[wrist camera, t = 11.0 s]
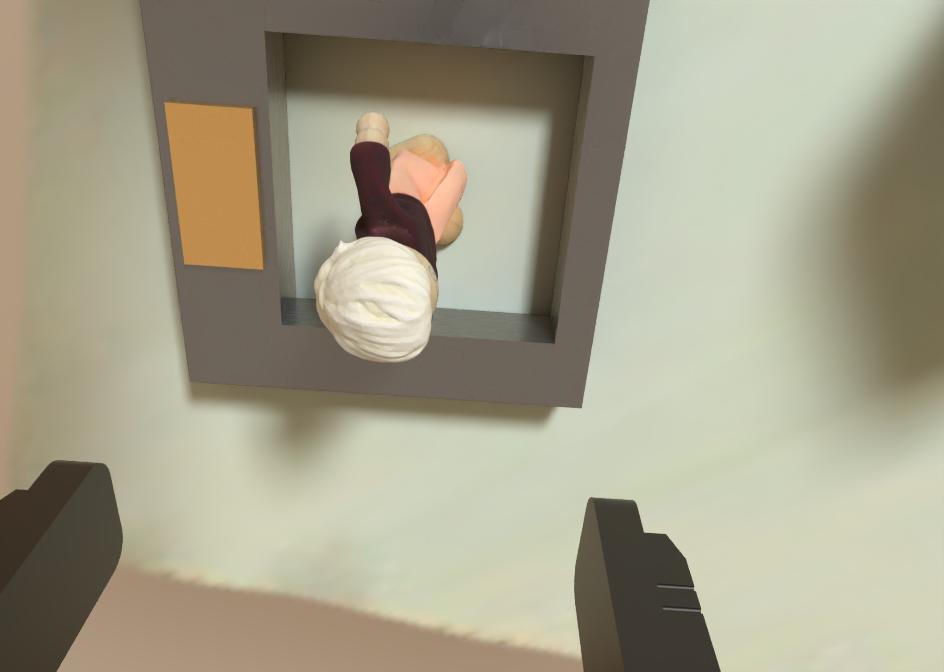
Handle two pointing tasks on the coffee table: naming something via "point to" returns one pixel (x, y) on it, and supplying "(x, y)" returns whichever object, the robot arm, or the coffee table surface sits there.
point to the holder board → (269, 194)
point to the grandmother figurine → (391, 245)
